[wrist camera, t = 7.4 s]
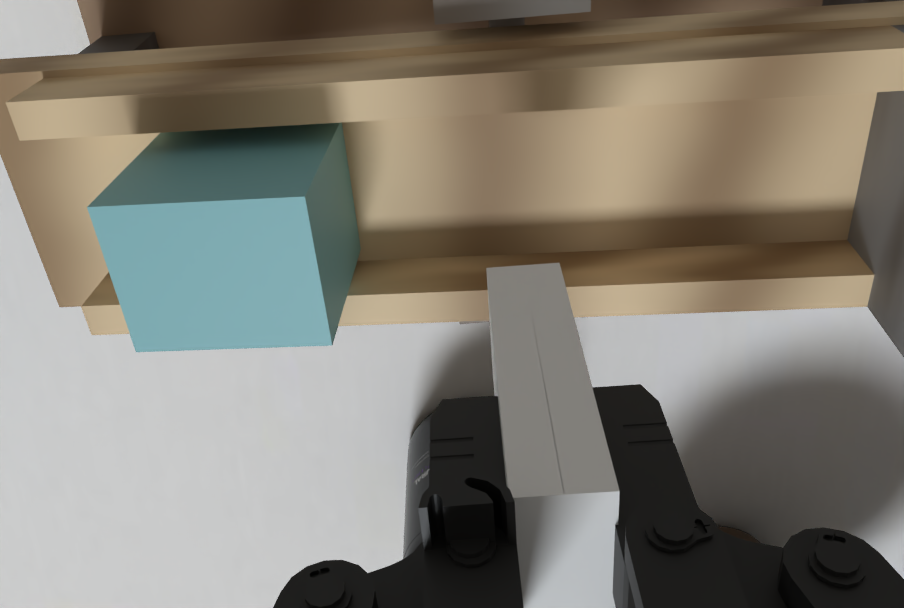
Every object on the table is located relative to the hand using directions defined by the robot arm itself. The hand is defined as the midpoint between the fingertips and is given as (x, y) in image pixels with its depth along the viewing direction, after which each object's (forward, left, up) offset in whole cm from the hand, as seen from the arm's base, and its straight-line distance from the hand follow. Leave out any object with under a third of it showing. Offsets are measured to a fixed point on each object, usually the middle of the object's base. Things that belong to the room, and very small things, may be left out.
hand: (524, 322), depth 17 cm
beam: (-1, 0, -9) cm, 9 cm away
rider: (+7, 0, -7) cm, 10 cm away
